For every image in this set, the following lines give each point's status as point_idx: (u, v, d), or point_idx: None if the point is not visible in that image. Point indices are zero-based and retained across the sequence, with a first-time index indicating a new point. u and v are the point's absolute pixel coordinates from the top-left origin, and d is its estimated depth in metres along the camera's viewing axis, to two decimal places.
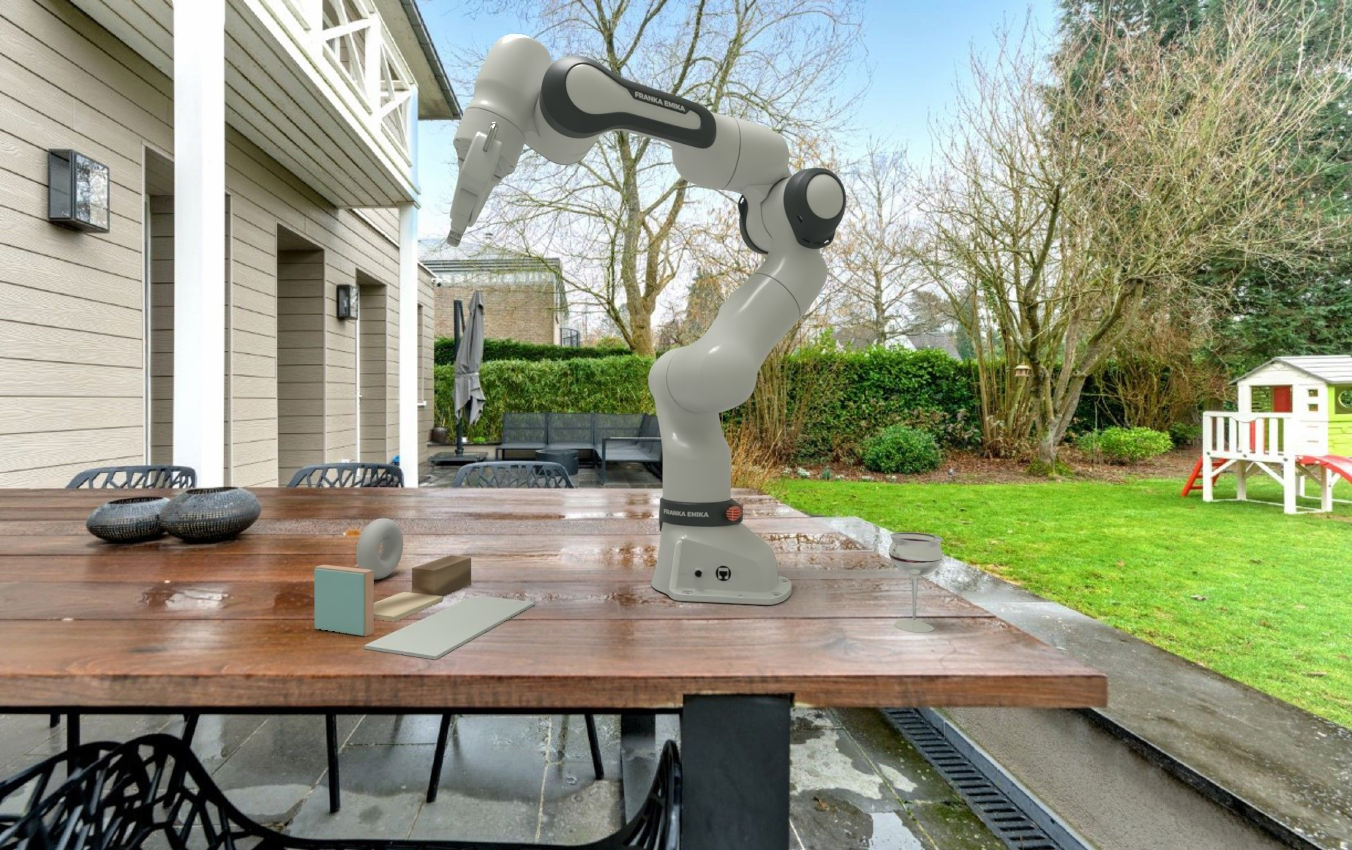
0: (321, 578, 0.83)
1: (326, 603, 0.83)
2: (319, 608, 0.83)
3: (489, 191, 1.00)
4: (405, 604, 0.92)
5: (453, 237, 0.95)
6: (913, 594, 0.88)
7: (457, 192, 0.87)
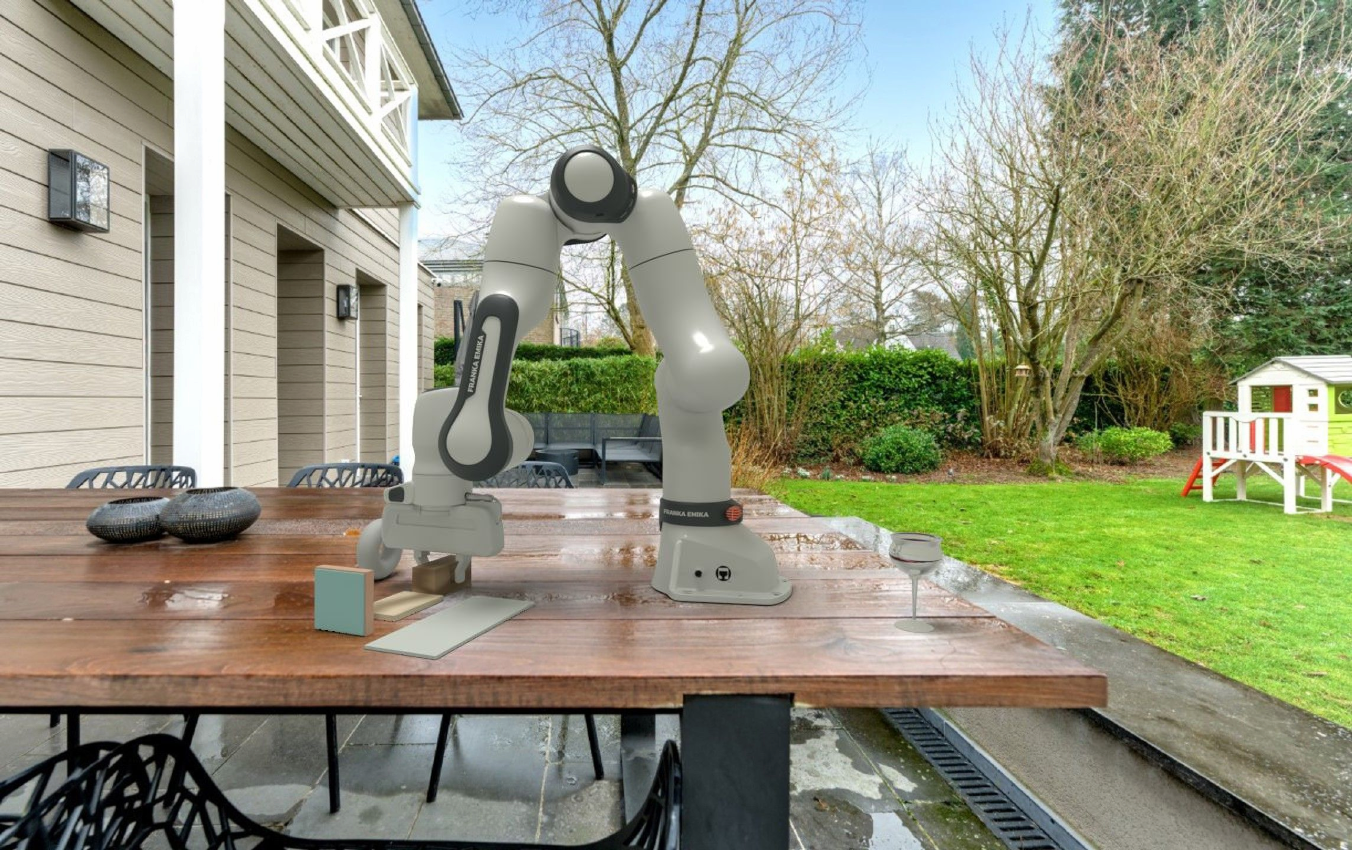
0: (321, 578, 0.83)
1: (326, 603, 0.83)
2: (319, 608, 0.83)
3: None
4: (405, 604, 0.92)
5: None
6: (913, 594, 0.88)
7: (459, 554, 0.99)
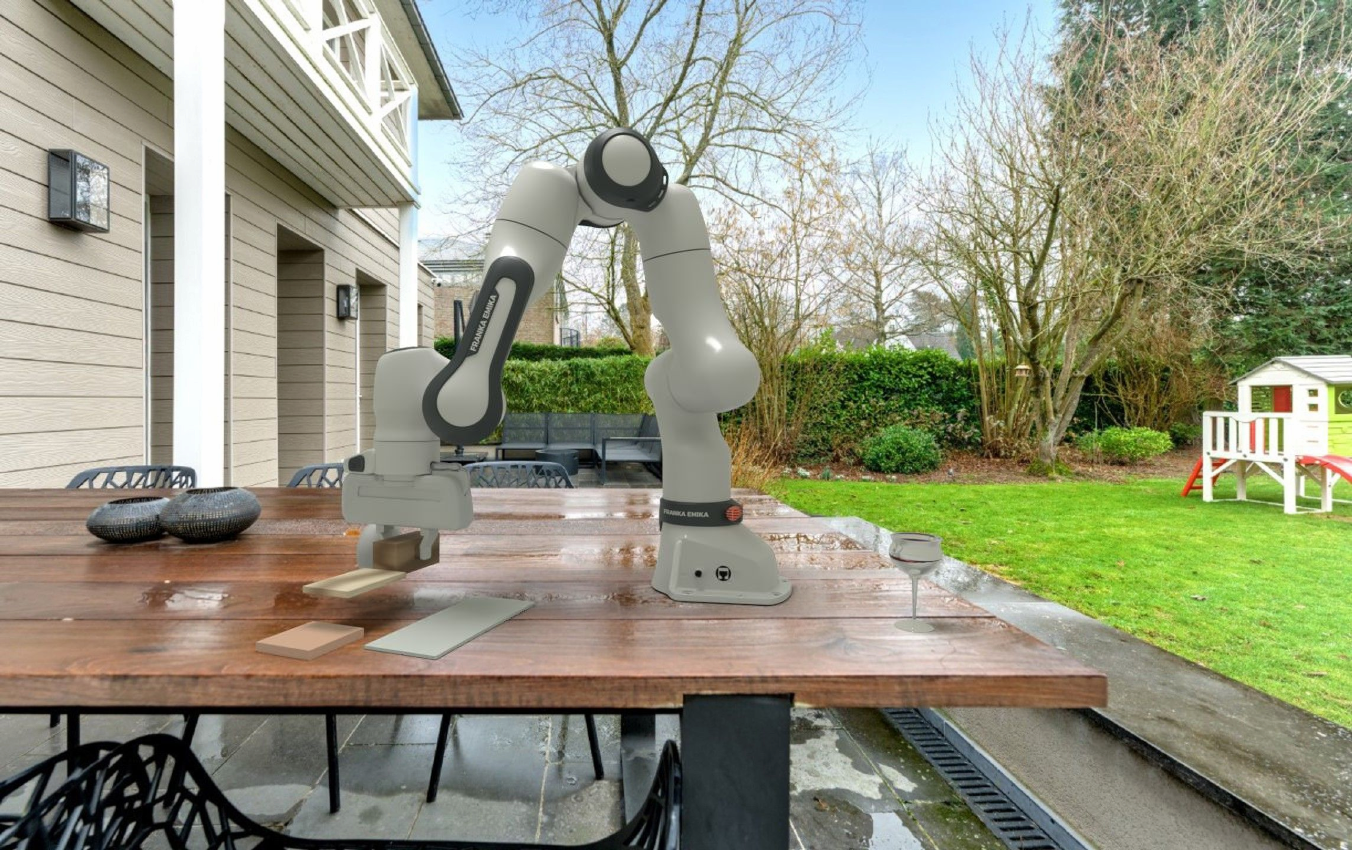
0: None
1: None
2: None
3: None
4: (362, 580, 0.85)
5: None
6: (913, 594, 0.88)
7: (424, 528, 0.91)
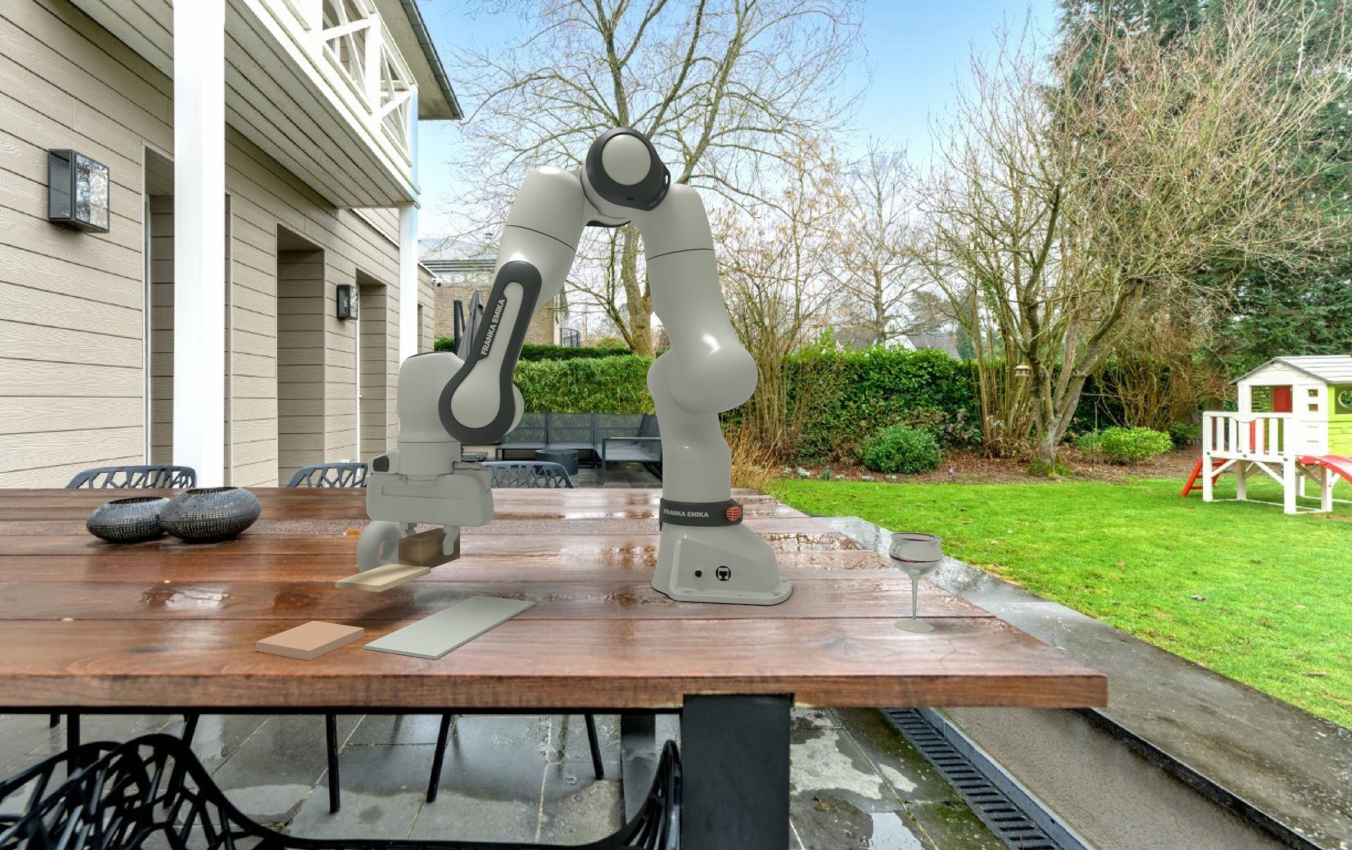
0: None
1: None
2: None
3: None
4: (391, 575, 0.89)
5: None
6: (913, 594, 0.88)
7: (447, 525, 0.95)
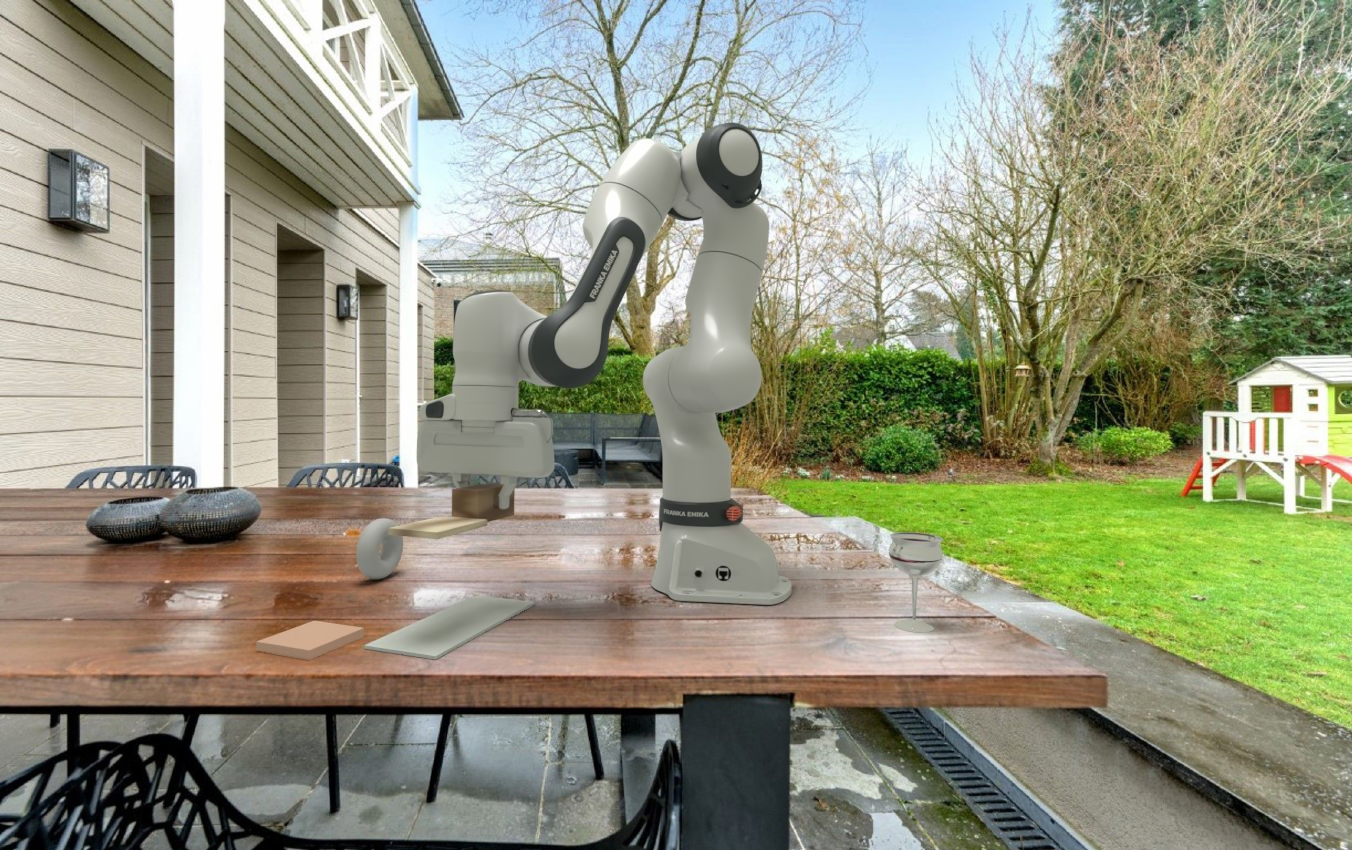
0: None
1: None
2: None
3: None
4: (447, 524, 0.82)
5: None
6: (913, 594, 0.88)
7: (504, 476, 0.89)
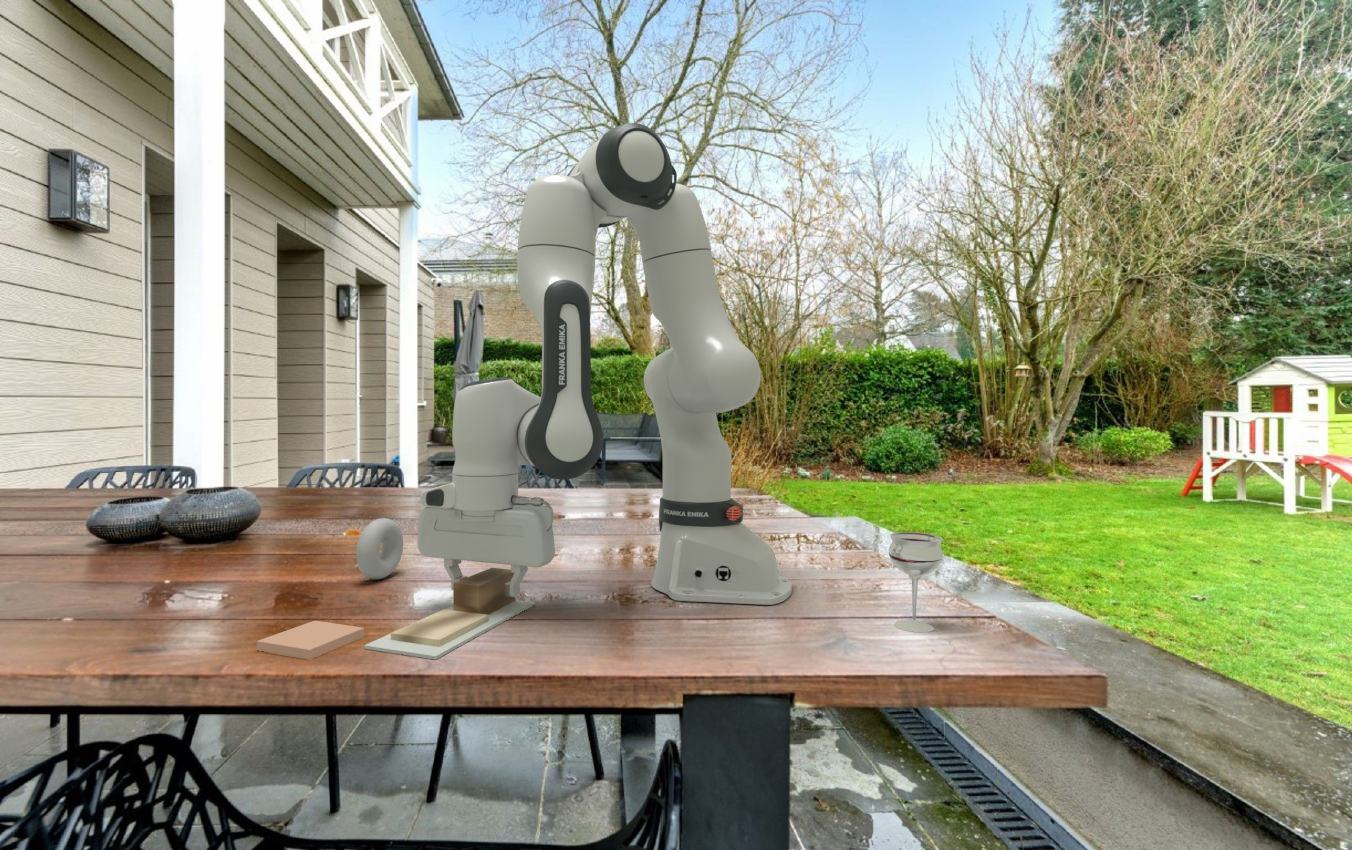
0: None
1: None
2: None
3: None
4: (448, 625, 0.82)
5: None
6: (913, 594, 0.88)
7: None
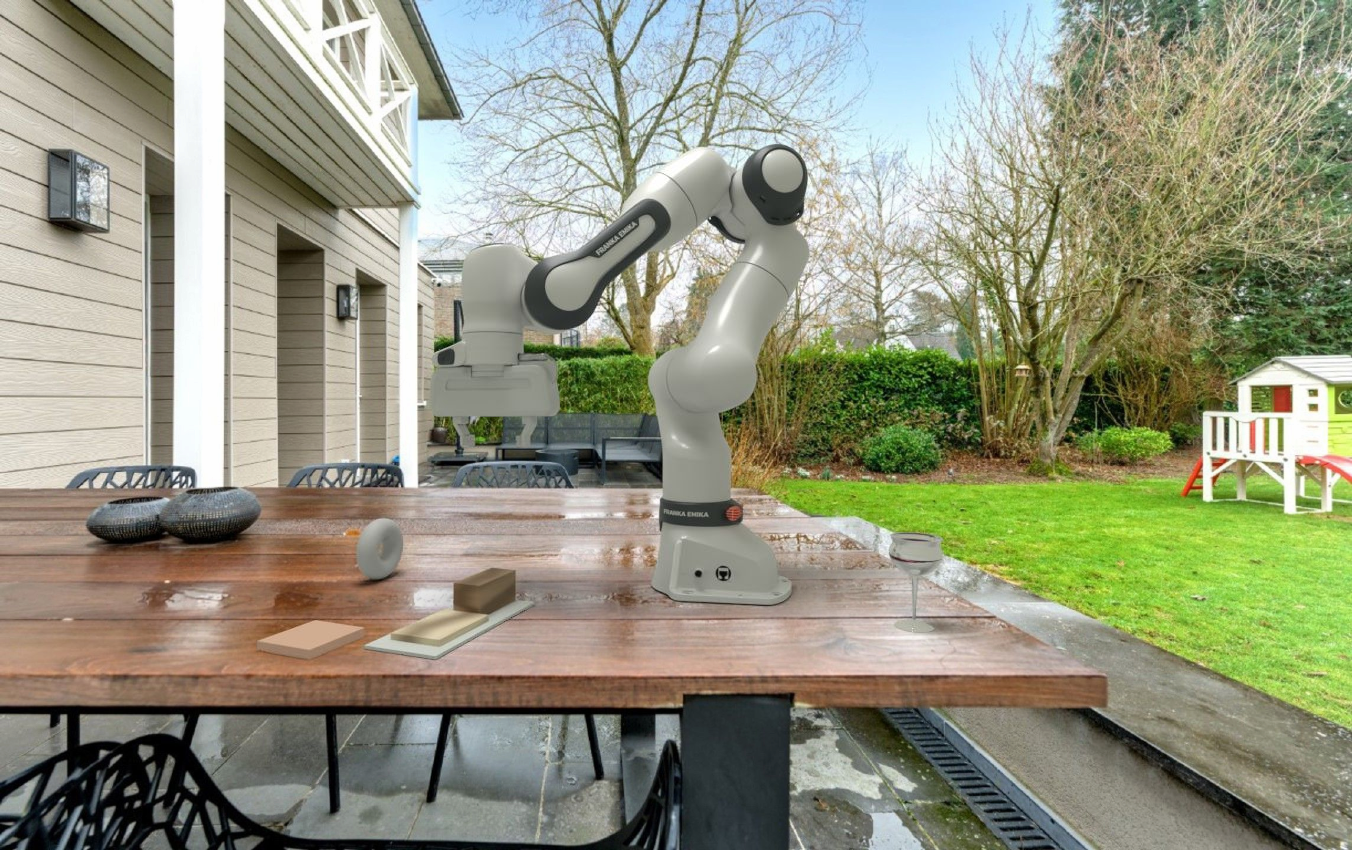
0: None
1: None
2: None
3: None
4: (448, 625, 0.82)
5: (470, 440, 0.99)
6: (913, 594, 0.88)
7: None
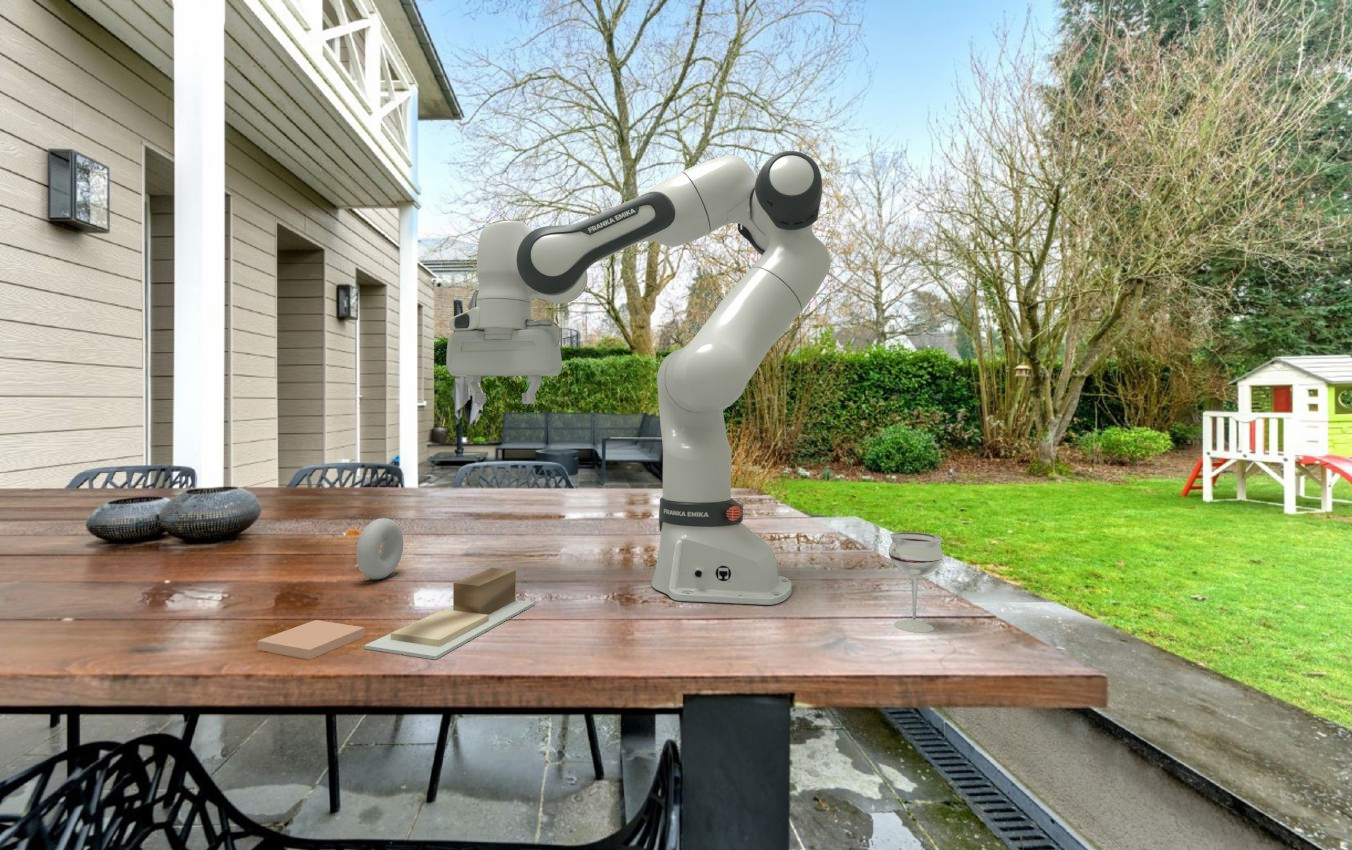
0: None
1: None
2: None
3: None
4: (448, 625, 0.82)
5: (482, 397, 1.11)
6: (913, 594, 0.88)
7: (520, 374, 1.07)
